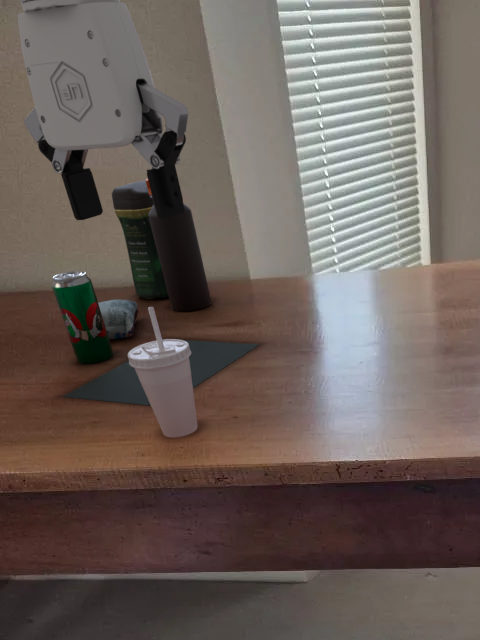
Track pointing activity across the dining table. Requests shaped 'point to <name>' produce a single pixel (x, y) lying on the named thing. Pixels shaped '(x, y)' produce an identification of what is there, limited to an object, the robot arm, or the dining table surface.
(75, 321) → the soda can
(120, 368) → the mat
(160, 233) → the vinegar
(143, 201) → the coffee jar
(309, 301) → the dining table surface
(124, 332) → the packaged food
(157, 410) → the smoothie
